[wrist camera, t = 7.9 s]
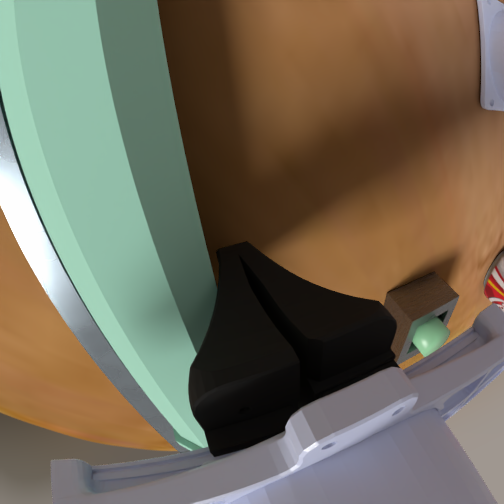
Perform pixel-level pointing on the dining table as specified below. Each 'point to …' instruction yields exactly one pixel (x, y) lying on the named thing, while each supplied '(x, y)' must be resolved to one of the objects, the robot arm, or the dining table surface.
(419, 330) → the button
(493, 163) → the dining table surface
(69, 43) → the green faceted column
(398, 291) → the grey hollow square block
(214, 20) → the dining table surface
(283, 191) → the dining table surface
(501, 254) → the soda can
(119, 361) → the grey angled bar
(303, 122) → the dining table surface
